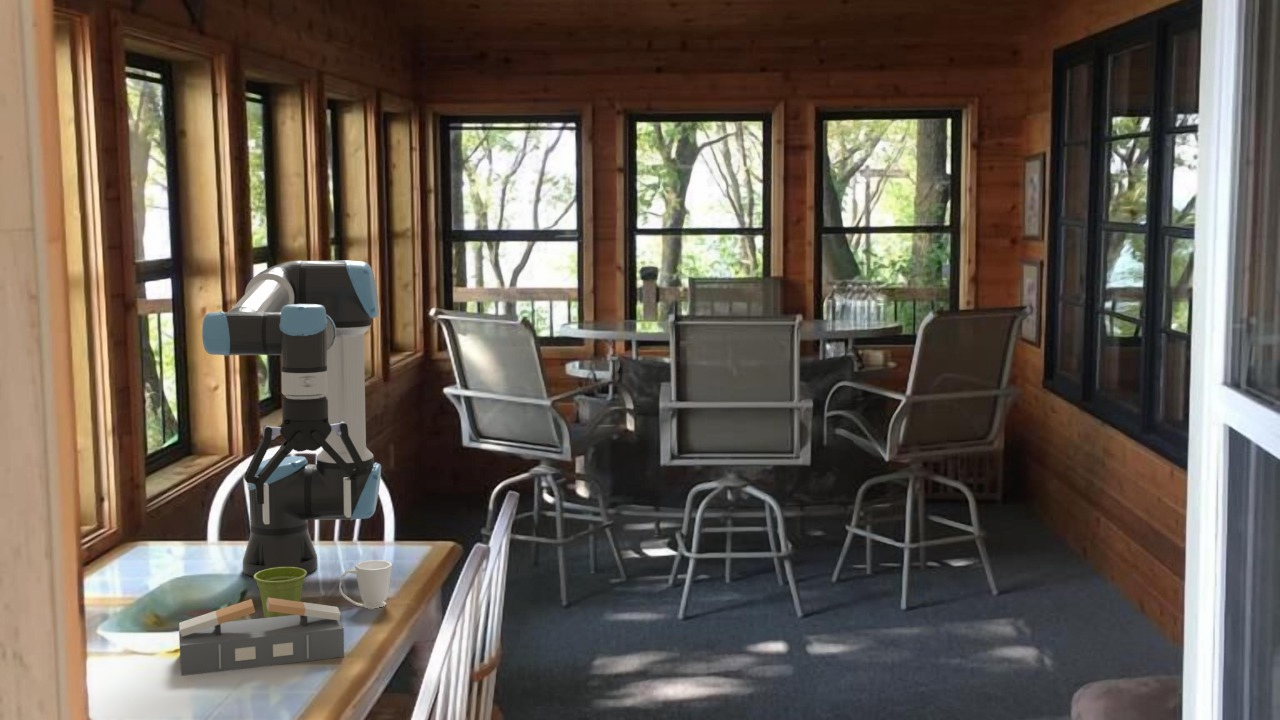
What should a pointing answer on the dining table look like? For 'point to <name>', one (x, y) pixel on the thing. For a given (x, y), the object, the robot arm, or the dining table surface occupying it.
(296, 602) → the rocker
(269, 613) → the plant pot
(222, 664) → the switch unit
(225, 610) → the rocker
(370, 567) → the cup
